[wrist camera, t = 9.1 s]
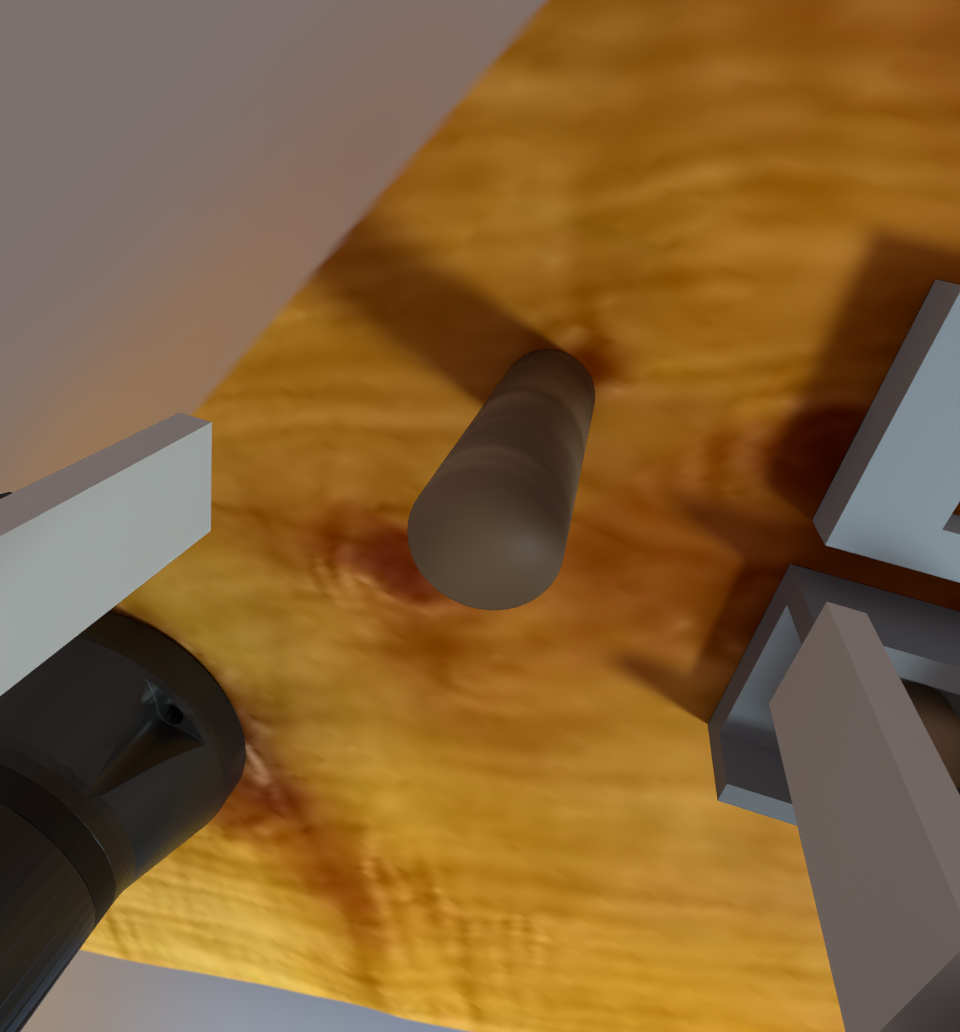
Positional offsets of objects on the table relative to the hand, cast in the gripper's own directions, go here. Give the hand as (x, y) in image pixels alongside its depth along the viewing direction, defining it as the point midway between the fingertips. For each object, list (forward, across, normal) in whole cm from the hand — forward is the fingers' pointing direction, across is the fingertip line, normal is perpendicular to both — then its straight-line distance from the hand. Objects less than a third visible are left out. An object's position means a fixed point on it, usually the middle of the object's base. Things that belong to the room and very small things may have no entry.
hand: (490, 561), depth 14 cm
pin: (+13, 0, 0) cm, 13 cm away
